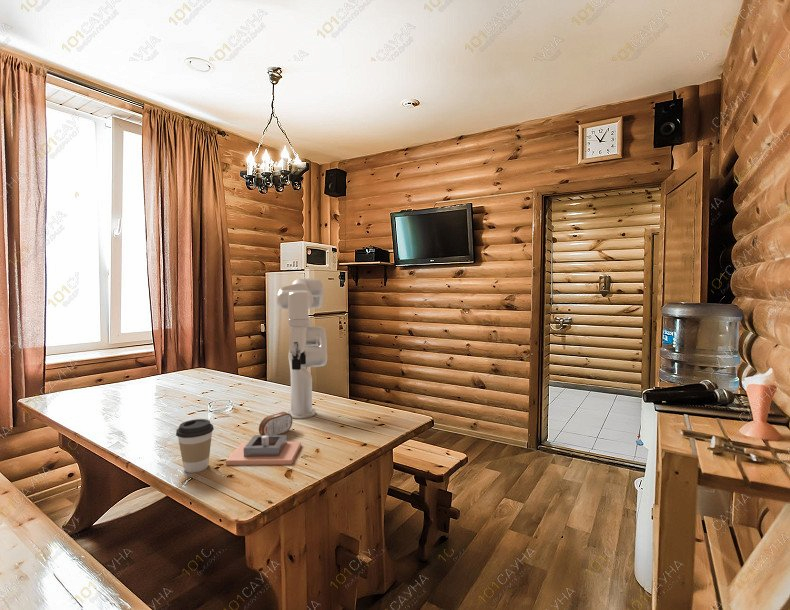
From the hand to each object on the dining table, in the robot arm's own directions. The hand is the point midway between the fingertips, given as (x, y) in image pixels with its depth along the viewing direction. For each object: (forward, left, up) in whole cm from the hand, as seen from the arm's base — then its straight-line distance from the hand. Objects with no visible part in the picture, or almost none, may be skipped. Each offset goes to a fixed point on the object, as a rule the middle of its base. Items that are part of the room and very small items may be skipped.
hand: (299, 366), depth 164 cm
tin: (-3, -10, -29) cm, 30 cm away
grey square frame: (+15, -9, -27) cm, 32 cm away
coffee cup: (+26, -29, -28) cm, 48 cm away
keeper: (+16, -9, -28) cm, 34 cm away
